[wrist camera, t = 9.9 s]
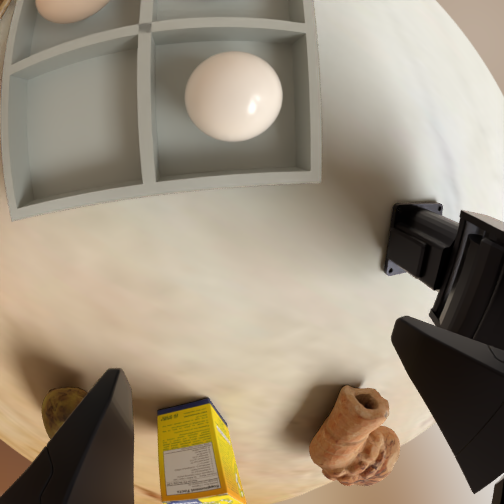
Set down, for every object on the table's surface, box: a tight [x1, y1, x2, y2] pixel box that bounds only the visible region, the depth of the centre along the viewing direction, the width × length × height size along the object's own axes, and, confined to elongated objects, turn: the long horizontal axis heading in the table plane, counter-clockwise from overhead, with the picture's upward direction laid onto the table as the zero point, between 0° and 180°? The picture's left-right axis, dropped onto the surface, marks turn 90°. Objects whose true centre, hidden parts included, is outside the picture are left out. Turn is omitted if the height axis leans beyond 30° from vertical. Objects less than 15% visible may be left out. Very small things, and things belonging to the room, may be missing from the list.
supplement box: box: [157, 398, 246, 504], centre depth 21 cm, size 6×6×11 cm
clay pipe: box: [309, 385, 400, 486], centre depth 29 cm, size 19×11×15 cm
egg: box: [185, 51, 283, 142], centre depth 13 cm, size 5×5×5 cm
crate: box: [0, 0, 322, 221], centre depth 12 cm, size 19×19×3 cm
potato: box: [42, 387, 88, 439], centre depth 18 cm, size 8×13×8 cm, turn 128°
